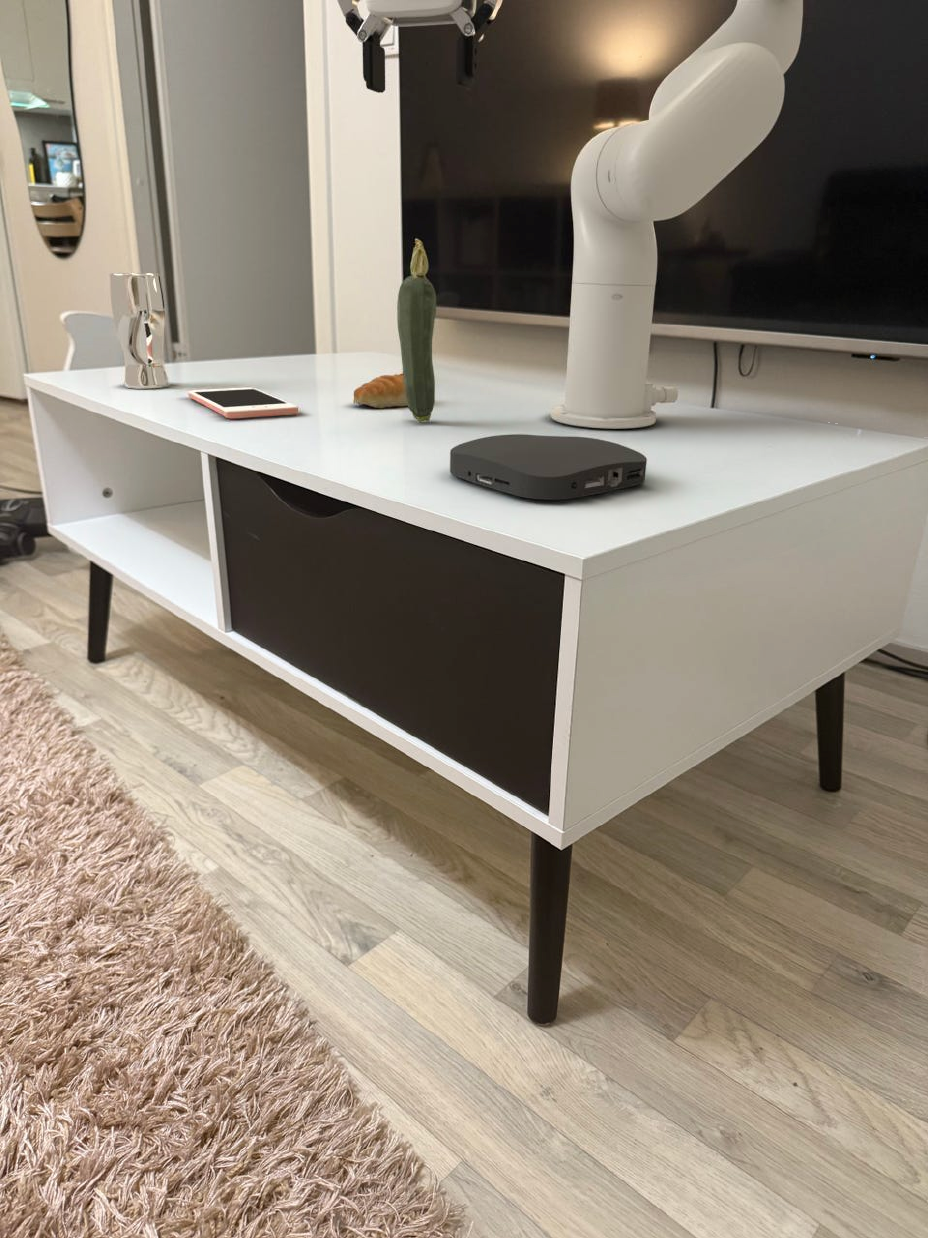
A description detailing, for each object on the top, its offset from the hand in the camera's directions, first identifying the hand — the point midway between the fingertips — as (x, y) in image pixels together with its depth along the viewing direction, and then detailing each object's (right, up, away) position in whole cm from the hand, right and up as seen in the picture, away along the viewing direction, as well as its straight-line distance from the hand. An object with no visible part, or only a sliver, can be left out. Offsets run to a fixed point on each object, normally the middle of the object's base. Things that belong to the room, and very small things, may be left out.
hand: (419, 88), depth 90 cm
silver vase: (-41, -20, +39) cm, 60 cm away
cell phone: (-24, -26, +24) cm, 43 cm away
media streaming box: (+12, -41, -9) cm, 43 cm away
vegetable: (-1, -30, +16) cm, 34 cm away
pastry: (-5, -25, +28) cm, 38 cm away
